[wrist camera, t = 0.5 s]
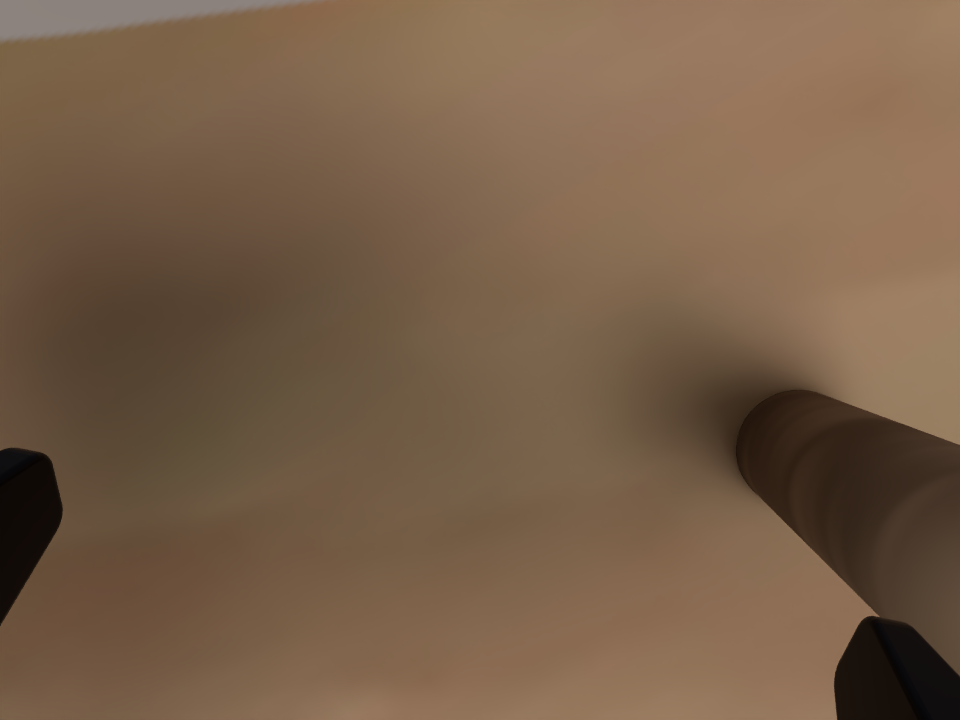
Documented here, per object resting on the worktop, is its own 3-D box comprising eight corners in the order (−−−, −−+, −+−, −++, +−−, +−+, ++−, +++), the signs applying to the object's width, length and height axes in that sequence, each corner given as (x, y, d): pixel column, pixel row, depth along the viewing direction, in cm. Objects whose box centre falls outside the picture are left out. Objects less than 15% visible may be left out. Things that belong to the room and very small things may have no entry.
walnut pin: (805, 532, 23) (1031, 750, 12) (711, 457, 23) (849, 603, 12) (886, 441, 22) (1201, 580, 11) (790, 365, 22) (1010, 430, 11)
